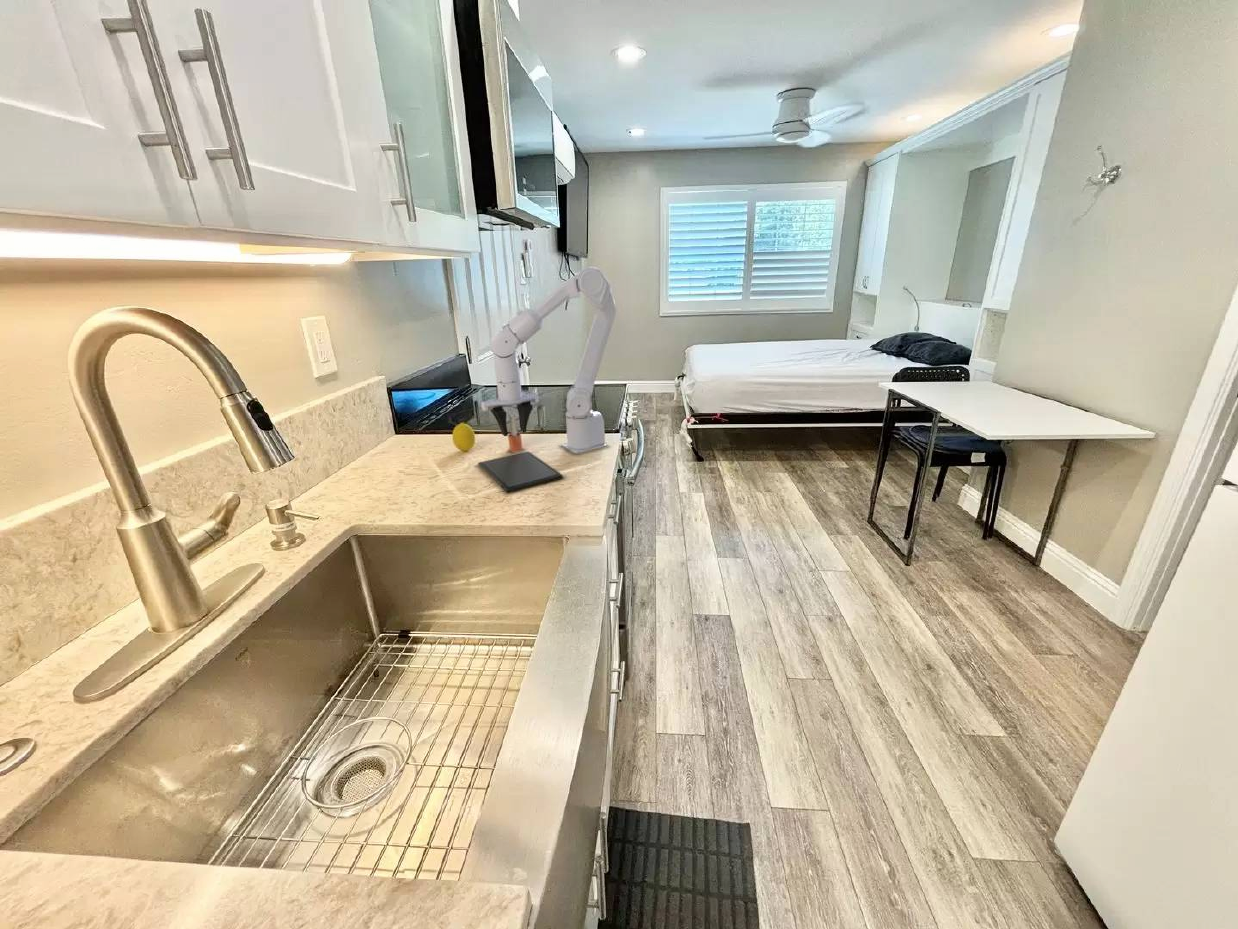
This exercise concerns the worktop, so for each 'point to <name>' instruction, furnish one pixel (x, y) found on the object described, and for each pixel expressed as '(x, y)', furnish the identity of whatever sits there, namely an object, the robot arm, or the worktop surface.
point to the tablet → (519, 471)
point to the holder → (515, 442)
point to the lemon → (463, 437)
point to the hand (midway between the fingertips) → (514, 433)
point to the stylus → (513, 425)
